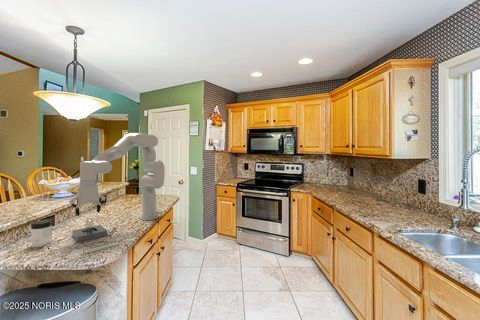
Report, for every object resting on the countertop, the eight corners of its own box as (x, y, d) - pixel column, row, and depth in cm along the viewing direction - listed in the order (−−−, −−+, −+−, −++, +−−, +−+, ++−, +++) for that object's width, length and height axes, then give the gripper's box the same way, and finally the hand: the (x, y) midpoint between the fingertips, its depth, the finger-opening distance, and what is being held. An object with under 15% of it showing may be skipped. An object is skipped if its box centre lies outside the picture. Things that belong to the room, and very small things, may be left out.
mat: (109, 239, 127) (109, 237, 127) (117, 245, 119) (117, 244, 119) (79, 246, 117) (79, 245, 117) (85, 254, 109) (85, 252, 109)
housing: (100, 231, 140) (100, 224, 140) (107, 237, 130) (107, 230, 130) (72, 237, 130) (72, 230, 130) (77, 244, 120) (77, 237, 120)
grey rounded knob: (94, 233, 134) (93, 217, 134) (97, 235, 130) (96, 220, 130) (82, 235, 130) (82, 220, 130) (85, 238, 126) (84, 222, 126)
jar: (26, 248, 116) (25, 224, 115) (37, 242, 124) (36, 220, 123) (47, 246, 118) (46, 223, 117) (56, 240, 126) (55, 218, 125)
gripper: (103, 181, 138) (103, 210, 138) (67, 183, 125) (68, 215, 126) (107, 182, 132) (107, 212, 133) (70, 185, 120) (70, 217, 120)
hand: (88, 213), depth 129 cm, fingers open, 9 cm apart
